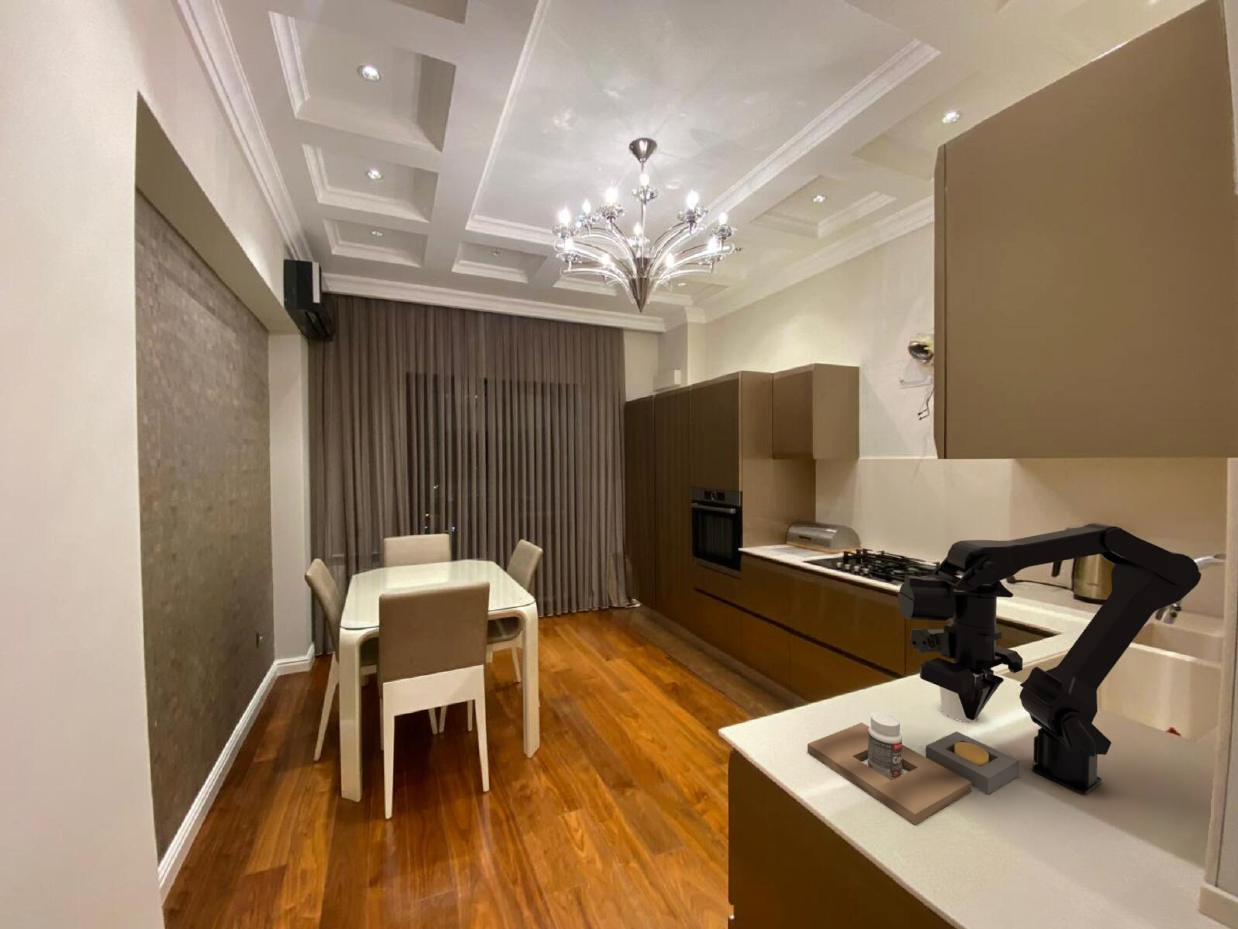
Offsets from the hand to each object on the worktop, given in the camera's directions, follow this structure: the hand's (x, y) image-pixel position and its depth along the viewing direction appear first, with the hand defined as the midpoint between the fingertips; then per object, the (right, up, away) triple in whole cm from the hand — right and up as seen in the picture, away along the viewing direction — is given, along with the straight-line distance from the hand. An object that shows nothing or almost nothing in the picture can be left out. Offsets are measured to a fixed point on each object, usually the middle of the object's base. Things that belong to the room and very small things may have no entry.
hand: (970, 718), depth 78 cm
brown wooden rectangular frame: (-14, -8, -1) cm, 16 cm away
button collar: (0, -8, 0) cm, 8 cm away
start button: (0, -8, 0) cm, 8 cm away
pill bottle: (-14, -8, -1) cm, 16 cm away
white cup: (+10, -8, +16) cm, 21 cm away
